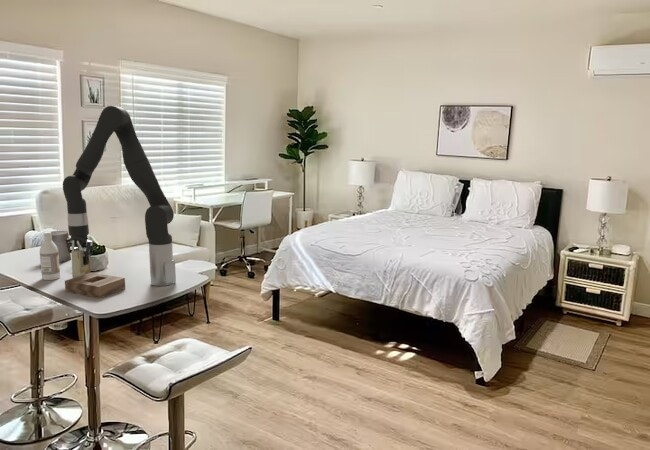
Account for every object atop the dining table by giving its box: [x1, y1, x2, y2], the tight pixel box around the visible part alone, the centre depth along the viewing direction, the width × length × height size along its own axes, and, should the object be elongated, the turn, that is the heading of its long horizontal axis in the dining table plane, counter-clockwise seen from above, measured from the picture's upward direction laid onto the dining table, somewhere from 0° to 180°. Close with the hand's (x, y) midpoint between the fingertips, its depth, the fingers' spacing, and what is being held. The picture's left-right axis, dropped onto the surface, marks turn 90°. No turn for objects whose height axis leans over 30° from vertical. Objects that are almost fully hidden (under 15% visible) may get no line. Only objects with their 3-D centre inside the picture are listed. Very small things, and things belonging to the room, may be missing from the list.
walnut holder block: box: [64, 272, 126, 299], centre depth 202 cm, size 18×13×4 cm
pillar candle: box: [50, 230, 72, 263], centre depth 246 cm, size 10×10×15 cm
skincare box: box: [71, 249, 92, 279], centre depth 212 cm, size 6×4×12 cm
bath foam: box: [39, 231, 61, 281], centre depth 216 cm, size 7×7×20 cm
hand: (81, 263), depth 212 cm, fingers closed on skincare box, 4 cm apart
